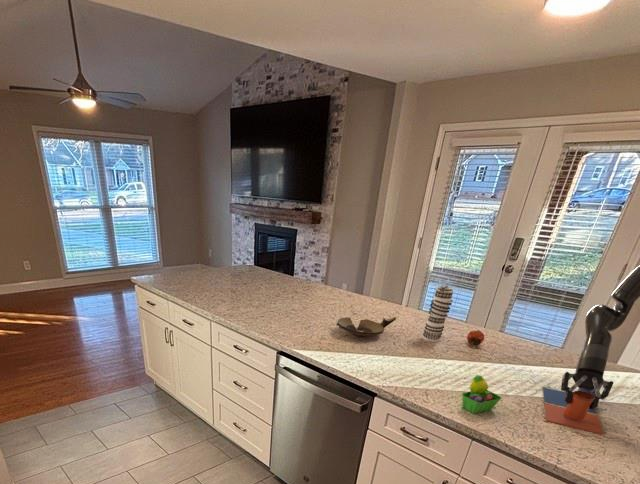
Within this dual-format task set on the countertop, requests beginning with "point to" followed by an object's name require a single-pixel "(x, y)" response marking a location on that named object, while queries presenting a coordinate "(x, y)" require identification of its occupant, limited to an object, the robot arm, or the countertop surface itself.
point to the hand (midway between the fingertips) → (580, 405)
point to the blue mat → (558, 398)
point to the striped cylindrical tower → (438, 313)
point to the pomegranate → (475, 337)
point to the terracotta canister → (579, 405)
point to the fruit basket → (479, 396)
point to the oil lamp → (364, 326)
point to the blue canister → (589, 390)
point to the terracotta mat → (558, 417)
